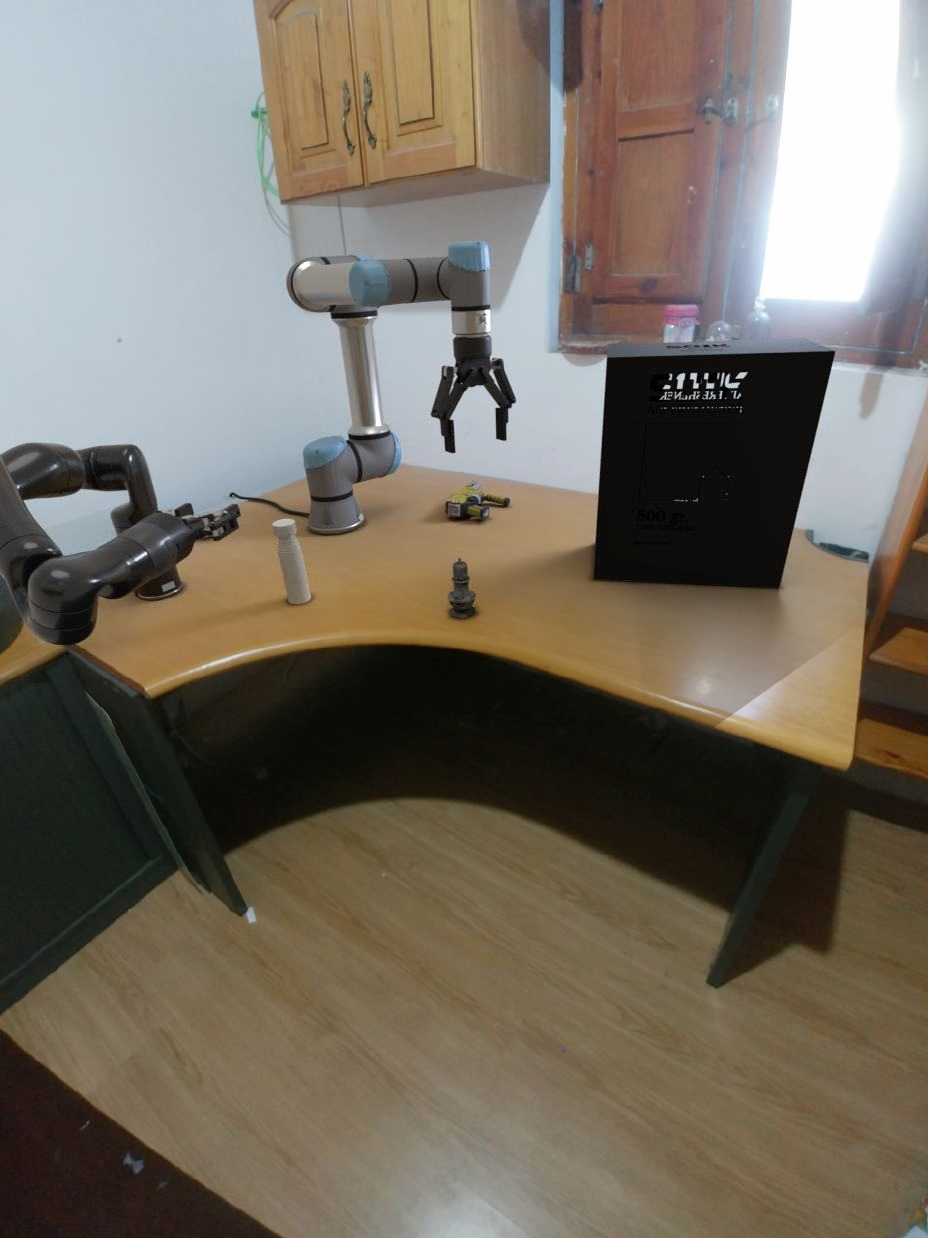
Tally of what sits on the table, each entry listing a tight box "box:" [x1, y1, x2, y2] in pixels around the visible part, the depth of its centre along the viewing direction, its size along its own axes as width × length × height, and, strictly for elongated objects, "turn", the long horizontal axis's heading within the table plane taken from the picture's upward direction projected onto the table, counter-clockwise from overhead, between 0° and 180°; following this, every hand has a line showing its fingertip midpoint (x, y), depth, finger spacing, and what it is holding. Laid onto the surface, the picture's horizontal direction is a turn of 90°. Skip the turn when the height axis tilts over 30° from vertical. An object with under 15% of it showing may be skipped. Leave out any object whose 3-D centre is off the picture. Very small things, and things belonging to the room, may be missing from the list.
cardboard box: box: [592, 337, 836, 589], centre depth 125 cm, size 38×20×45 cm, turn 78°
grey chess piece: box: [446, 556, 477, 619], centre depth 120 cm, size 6×6×12 cm
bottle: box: [276, 534, 312, 605], centre depth 127 cm, size 5×5×17 cm
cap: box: [271, 518, 298, 538], centre depth 123 cm, size 4×4×2 cm
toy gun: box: [444, 480, 511, 521], centre depth 175 cm, size 5×24×15 cm
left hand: (214, 508), depth 100 cm, fingers open, 8 cm apart
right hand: (476, 445), depth 127 cm, fingers open, 13 cm apart
